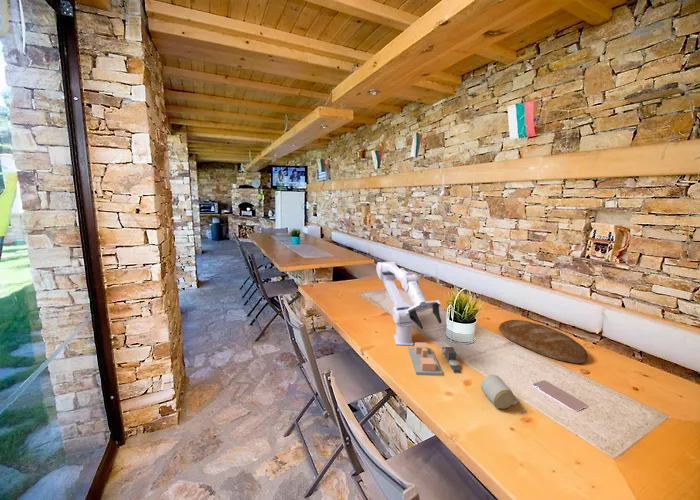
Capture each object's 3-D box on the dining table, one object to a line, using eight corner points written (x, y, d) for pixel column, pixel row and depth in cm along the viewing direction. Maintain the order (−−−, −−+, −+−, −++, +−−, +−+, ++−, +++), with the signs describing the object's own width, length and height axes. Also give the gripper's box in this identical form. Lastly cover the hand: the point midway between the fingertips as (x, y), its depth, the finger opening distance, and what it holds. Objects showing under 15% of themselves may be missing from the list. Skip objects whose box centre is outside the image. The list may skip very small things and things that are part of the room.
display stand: (408, 349, 131) (408, 338, 130) (430, 350, 131) (431, 338, 130) (416, 374, 113) (416, 361, 112) (442, 375, 112) (443, 362, 111)
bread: (514, 325, 159) (516, 310, 157) (597, 357, 127) (600, 339, 126) (488, 333, 148) (489, 317, 147) (571, 371, 117) (574, 351, 115)
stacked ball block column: (439, 350, 131) (440, 339, 130) (448, 350, 131) (449, 340, 130) (451, 372, 114) (452, 360, 113) (461, 373, 114) (463, 361, 113)
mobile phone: (575, 411, 93) (530, 383, 107) (574, 413, 94) (530, 386, 107) (589, 404, 96) (544, 378, 110) (589, 407, 97) (543, 381, 110)
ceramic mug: (493, 411, 93) (496, 389, 92) (479, 394, 101) (481, 374, 100) (523, 409, 95) (527, 387, 94) (506, 392, 103) (509, 372, 102)
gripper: (400, 297, 121) (413, 325, 112) (434, 287, 122) (449, 314, 112) (401, 306, 126) (413, 334, 117) (433, 296, 127) (448, 323, 117)
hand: (431, 325), depth 115 cm, fingers open, 7 cm apart
